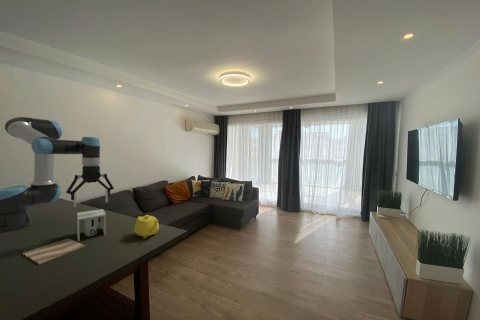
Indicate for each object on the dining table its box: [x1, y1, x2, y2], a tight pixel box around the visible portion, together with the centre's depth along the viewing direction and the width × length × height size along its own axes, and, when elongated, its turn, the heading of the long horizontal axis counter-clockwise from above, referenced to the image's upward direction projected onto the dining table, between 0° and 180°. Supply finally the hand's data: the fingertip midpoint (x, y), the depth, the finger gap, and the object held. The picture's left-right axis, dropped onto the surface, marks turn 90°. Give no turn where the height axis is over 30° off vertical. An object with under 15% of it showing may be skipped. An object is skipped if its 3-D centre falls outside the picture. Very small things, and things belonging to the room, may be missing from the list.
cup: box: [81, 217, 101, 237], centre depth 103 cm, size 8×8×10 cm
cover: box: [76, 208, 107, 242], centre depth 103 cm, size 12×12×12 cm
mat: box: [22, 237, 86, 265], centre depth 86 cm, size 16×16×1 cm
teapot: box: [133, 214, 160, 239], centre depth 105 cm, size 18×11×11 cm, turn 60°
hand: (91, 204), depth 103 cm, fingers open, 13 cm apart
